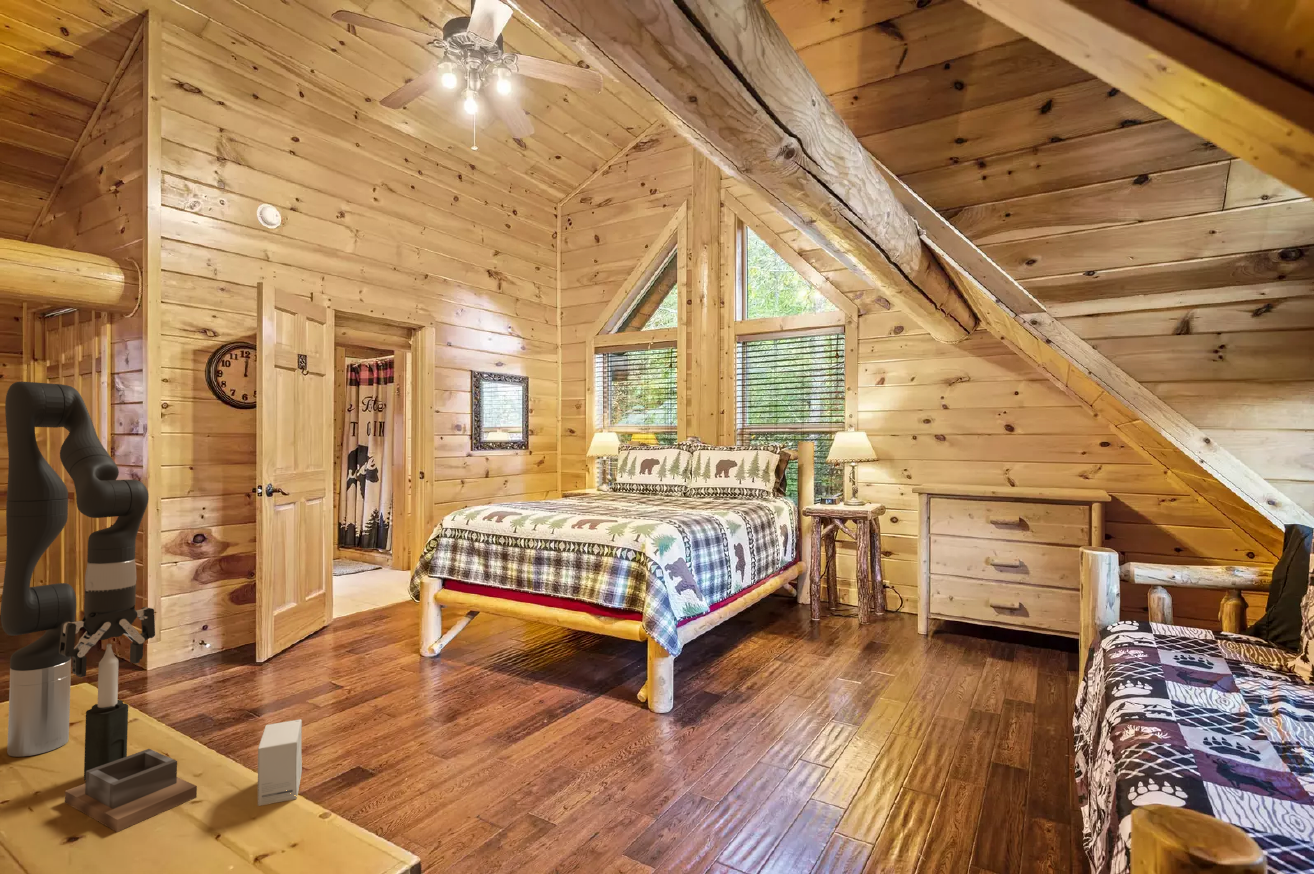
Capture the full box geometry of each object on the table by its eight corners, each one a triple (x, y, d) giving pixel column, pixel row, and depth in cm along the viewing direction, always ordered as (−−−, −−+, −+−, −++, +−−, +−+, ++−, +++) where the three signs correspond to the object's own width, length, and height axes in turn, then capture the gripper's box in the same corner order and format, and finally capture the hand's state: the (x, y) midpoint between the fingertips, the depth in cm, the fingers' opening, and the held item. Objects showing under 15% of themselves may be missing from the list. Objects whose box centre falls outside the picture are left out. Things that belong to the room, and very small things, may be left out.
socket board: (64, 802, 115) (65, 767, 115) (143, 772, 125) (144, 740, 125) (116, 831, 106) (118, 794, 106) (196, 797, 117) (197, 763, 117)
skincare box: (263, 778, 124) (265, 723, 124) (302, 772, 127) (303, 718, 127) (255, 807, 114) (256, 747, 115) (296, 799, 117) (298, 741, 117)
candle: (102, 783, 121) (106, 648, 121) (80, 779, 122) (84, 646, 122) (129, 770, 126) (133, 640, 126) (108, 766, 127) (112, 638, 127)
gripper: (143, 575, 132) (141, 655, 132) (54, 588, 120) (51, 677, 120) (163, 579, 129) (161, 661, 129) (73, 594, 116) (71, 684, 116)
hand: (108, 669), depth 124 cm, fingers open, 8 cm apart
